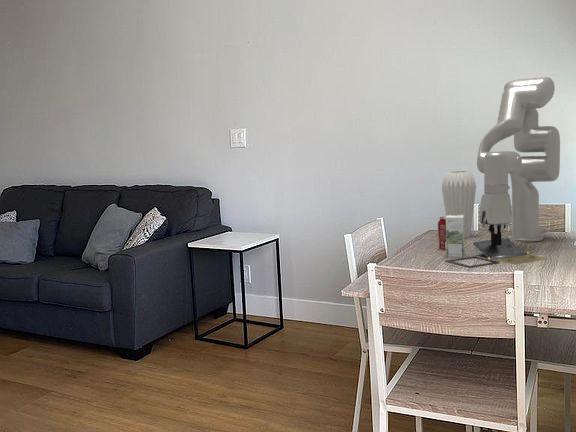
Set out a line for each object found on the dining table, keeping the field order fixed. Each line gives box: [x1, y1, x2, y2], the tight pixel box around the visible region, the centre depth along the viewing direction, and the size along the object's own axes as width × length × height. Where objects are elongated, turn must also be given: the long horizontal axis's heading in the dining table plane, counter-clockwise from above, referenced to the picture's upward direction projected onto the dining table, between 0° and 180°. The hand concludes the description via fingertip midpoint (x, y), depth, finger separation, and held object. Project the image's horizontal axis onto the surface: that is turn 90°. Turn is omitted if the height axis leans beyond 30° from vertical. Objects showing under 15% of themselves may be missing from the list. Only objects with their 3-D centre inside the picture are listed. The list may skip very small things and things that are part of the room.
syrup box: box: [445, 215, 466, 258], centre depth 206 cm, size 6×6×14 cm
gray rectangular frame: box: [445, 255, 501, 272], centre depth 194 cm, size 12×12×1 cm
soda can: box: [437, 216, 446, 251], centre depth 219 cm, size 7×7×12 cm
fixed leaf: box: [485, 250, 549, 266], centre depth 196 cm, size 18×11×2 cm, turn 113°
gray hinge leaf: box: [472, 237, 527, 261], centre depth 203 cm, size 14×10×1 cm
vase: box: [441, 170, 477, 239], centre depth 244 cm, size 13×13×26 cm
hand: (496, 244), depth 204 cm, fingers closed
